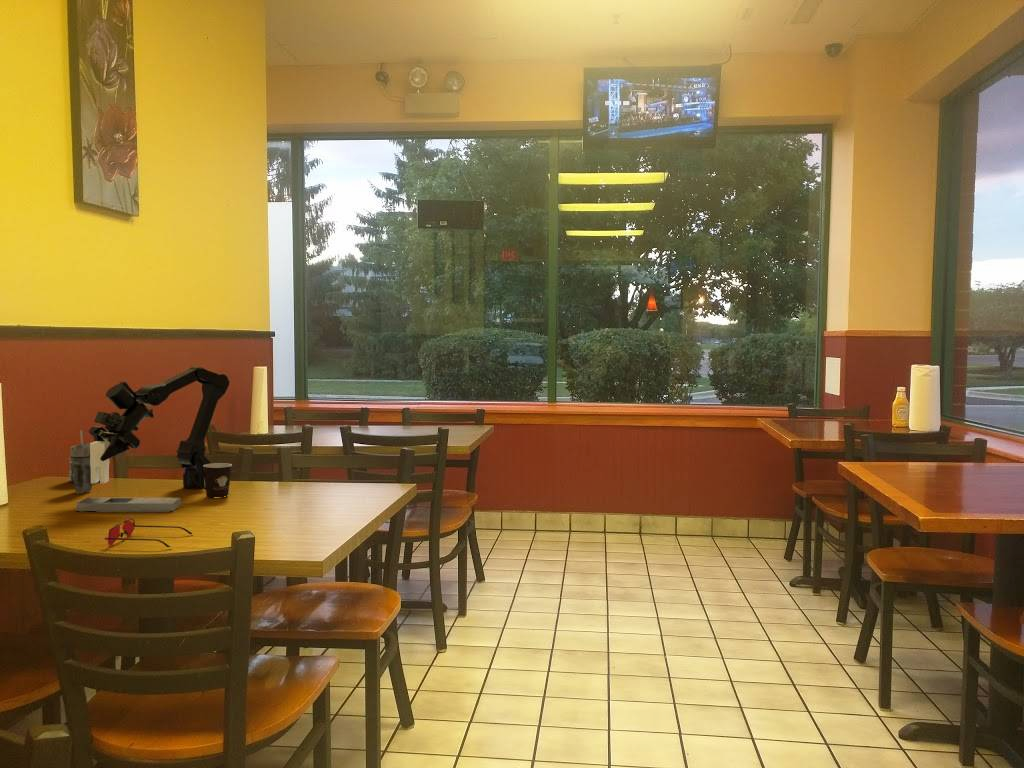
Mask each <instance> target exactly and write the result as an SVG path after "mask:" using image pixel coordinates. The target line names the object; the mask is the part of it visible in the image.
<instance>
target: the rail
mask: <svg viewBox="0 0 1024 768" xmlns="http://www.w3.org/2000/svg"><path fill="white" fill-rule="evenodd" d="M179 506H180V507H181V497H86V498H84V499H82V500H80V501H78V502H77V503H76V506H75V507H76V511H81V512H80V513H83V512H82V511H96V512H95V513H171V512H170V511H173V512H175V511H176V510H177V509H178V508H180V507H179ZM176 508H177V509H176ZM175 509H176V510H175ZM174 510H175V511H174ZM97 511H98V512H97Z"/></svg>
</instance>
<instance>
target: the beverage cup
mask: <svg viewBox="0 0 1024 768" xmlns="http://www.w3.org/2000/svg"><path fill="white" fill-rule="evenodd" d="M79 433H80V436H79V437H80V443H78V444H76V445H74V446H75V447H74V448H73V450H72V452H71V451H70V455H71V456H70V455H69V456H70V457H71V462H72V467H73V477H74V483H73V486H74V492H78V493H77V494H85V493H84V492H90V491H91V492H92V489H93V483H91V467H90V458H89V457H88V456H89V454H90V445H89V444H90V443H84V442H83V441H84V440H83V430H82V429H80V430H79ZM91 492H90V493H91Z"/></svg>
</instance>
